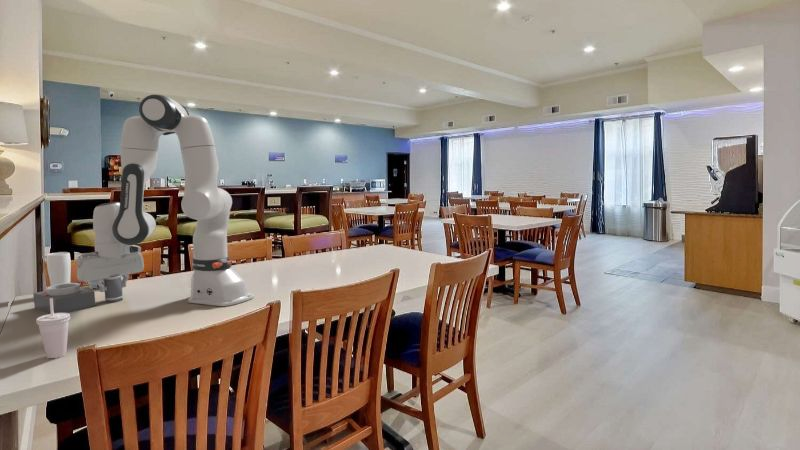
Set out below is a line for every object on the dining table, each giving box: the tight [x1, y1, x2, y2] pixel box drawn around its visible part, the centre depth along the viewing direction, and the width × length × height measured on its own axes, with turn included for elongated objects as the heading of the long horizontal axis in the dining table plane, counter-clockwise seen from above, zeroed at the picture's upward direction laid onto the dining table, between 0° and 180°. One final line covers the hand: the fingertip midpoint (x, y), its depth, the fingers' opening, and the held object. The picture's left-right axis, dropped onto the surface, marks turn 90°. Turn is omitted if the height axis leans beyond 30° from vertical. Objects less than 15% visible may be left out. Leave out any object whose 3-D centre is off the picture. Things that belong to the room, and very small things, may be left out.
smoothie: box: [35, 298, 71, 359], centre depth 103 cm, size 6×6×14 cm
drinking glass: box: [46, 251, 72, 286], centre depth 156 cm, size 7×7×15 cm
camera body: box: [32, 282, 96, 314], centre depth 142 cm, size 14×11×7 cm
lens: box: [104, 275, 124, 304], centre depth 149 cm, size 5×5×9 cm
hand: (113, 289), depth 150 cm, fingers closed on lens, 5 cm apart
